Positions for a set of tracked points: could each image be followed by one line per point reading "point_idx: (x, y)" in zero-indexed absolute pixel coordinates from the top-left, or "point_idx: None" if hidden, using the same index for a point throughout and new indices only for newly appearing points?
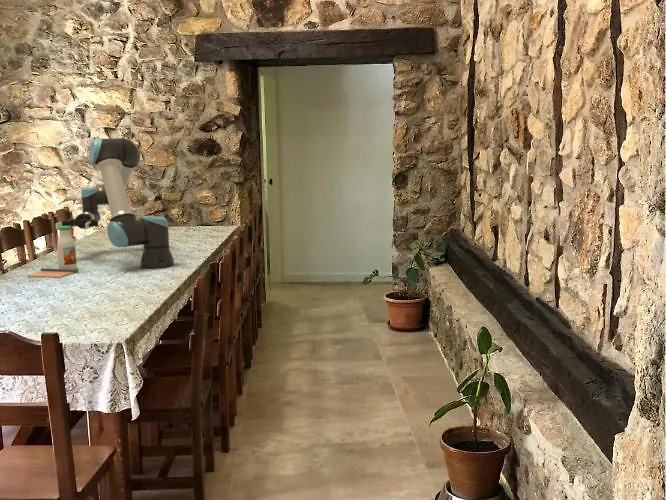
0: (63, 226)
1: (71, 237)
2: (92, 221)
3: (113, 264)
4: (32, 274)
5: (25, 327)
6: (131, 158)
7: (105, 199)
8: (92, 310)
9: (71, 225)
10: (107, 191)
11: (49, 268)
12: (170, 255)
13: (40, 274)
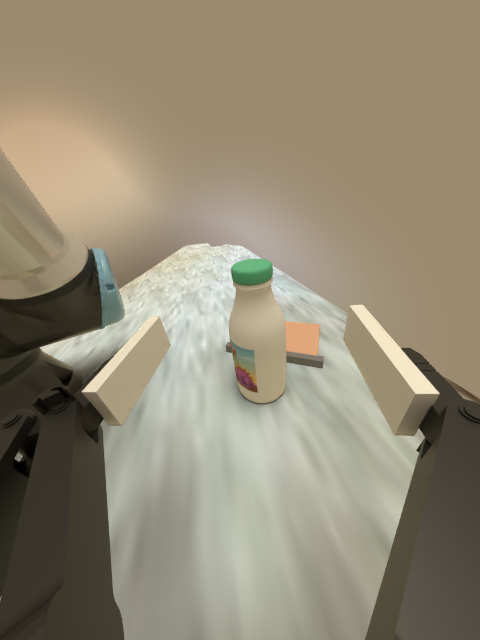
0: (254, 262)
1: (233, 306)
2: (64, 394)
3: (126, 447)
4: (315, 331)
5: (231, 247)
6: None
7: None
8: (197, 259)
9: (371, 623)
10: None
11: (300, 357)
12: None
13: (297, 330)
